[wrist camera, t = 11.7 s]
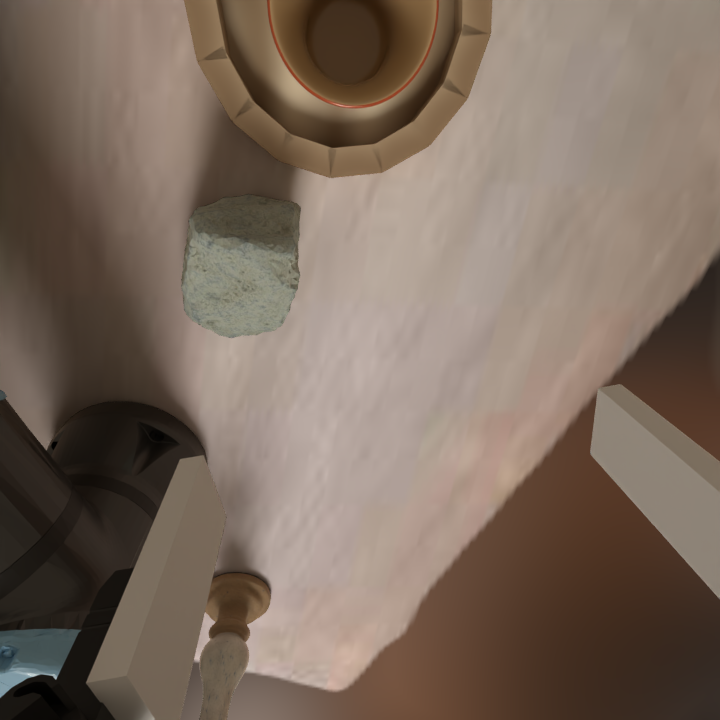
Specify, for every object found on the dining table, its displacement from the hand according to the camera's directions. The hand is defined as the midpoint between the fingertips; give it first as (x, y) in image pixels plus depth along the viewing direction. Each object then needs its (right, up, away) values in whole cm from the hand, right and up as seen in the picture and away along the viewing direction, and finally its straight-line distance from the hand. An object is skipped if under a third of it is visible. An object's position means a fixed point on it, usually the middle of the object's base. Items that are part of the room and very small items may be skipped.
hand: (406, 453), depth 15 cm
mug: (-2, +27, +16) cm, 32 cm away
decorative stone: (-11, +12, +24) cm, 29 cm away
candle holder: (-18, -27, +43) cm, 54 cm away
